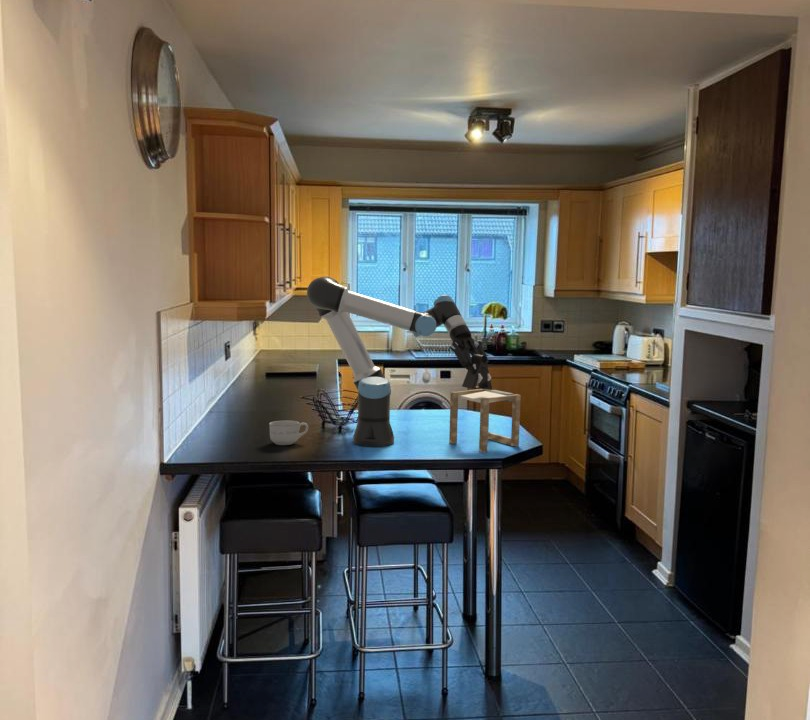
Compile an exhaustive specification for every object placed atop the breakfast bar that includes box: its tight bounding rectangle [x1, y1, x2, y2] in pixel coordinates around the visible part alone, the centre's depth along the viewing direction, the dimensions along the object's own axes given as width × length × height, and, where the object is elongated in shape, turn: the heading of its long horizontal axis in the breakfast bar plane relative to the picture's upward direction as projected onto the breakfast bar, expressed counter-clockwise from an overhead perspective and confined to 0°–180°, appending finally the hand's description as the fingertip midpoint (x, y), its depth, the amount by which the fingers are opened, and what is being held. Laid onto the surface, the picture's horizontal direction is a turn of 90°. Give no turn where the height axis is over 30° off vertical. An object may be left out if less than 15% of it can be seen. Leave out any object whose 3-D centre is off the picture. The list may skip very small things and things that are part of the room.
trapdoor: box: [459, 389, 514, 404], centre depth 264 cm, size 13×16×3 cm
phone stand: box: [461, 354, 493, 390], centre depth 259 cm, size 9×6×12 cm, turn 118°
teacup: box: [268, 420, 309, 446], centre depth 260 cm, size 14×11×8 cm
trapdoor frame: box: [448, 389, 522, 454], centre depth 264 cm, size 18×18×19 cm
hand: (484, 380), depth 256 cm, fingers closed on phone stand, 3 cm apart
